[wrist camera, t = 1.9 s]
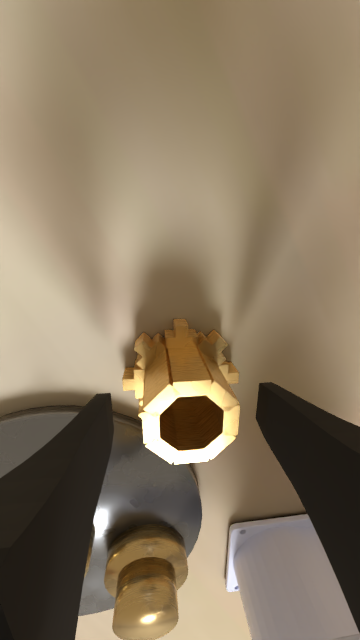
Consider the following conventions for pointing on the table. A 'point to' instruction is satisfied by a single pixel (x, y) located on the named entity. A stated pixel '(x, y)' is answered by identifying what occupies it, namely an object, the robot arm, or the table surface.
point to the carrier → (124, 522)
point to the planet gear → (184, 393)
